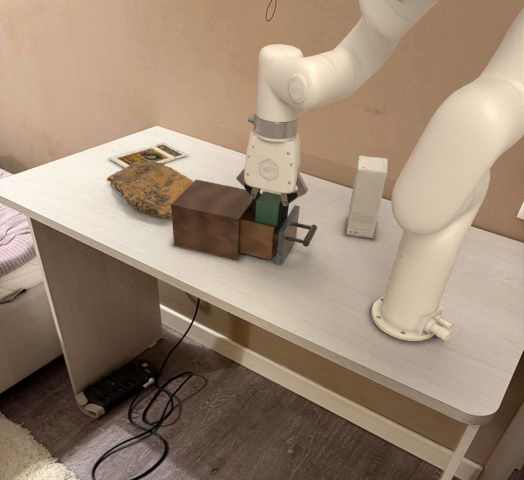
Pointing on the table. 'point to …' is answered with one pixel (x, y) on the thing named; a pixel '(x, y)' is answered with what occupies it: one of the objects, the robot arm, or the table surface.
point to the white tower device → (366, 196)
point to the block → (268, 208)
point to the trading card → (148, 155)
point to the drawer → (272, 236)
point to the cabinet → (210, 218)
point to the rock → (150, 187)
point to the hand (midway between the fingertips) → (269, 217)
